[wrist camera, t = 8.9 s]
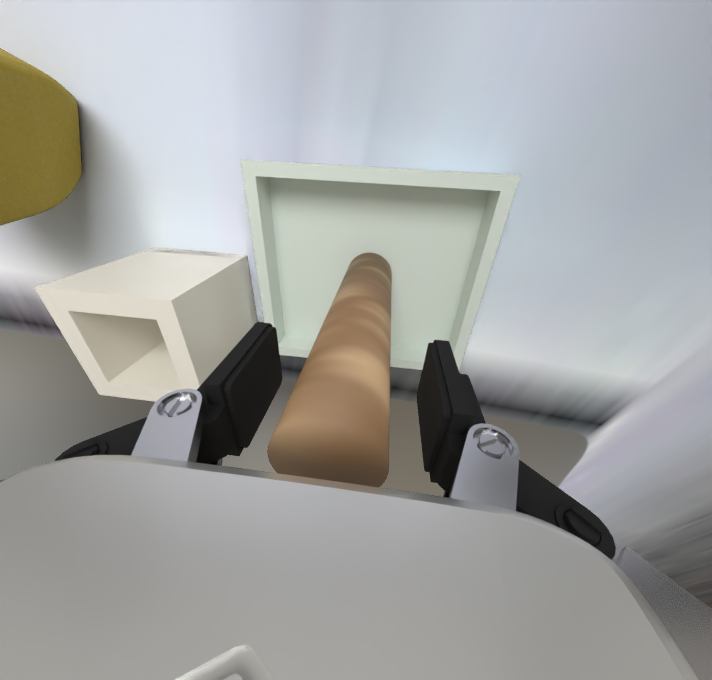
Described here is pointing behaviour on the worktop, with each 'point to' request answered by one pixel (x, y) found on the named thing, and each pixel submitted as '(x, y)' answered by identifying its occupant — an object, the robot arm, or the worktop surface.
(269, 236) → the tray
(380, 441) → the dowel
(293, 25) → the worktop surface
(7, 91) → the flower pot
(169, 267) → the white square holder
